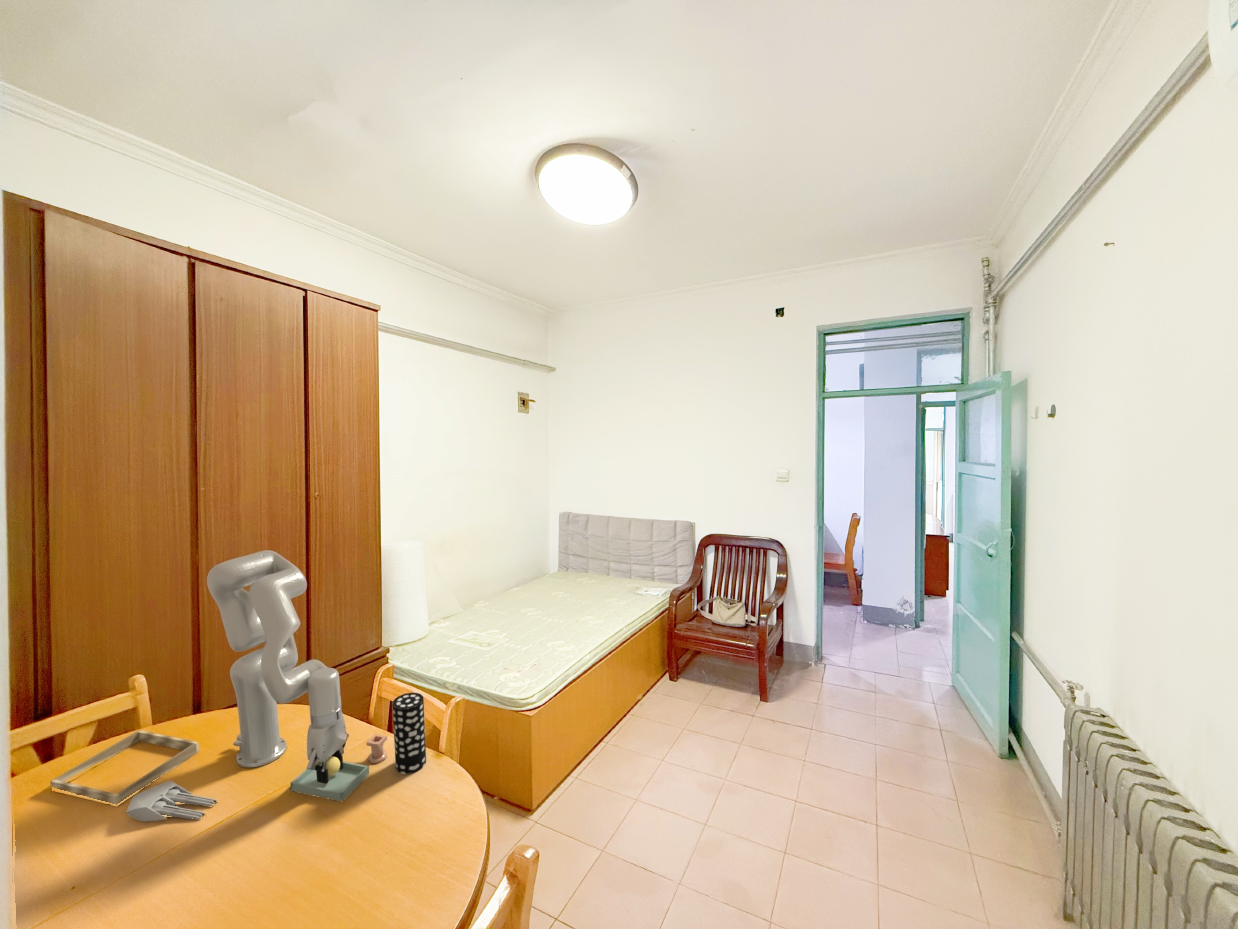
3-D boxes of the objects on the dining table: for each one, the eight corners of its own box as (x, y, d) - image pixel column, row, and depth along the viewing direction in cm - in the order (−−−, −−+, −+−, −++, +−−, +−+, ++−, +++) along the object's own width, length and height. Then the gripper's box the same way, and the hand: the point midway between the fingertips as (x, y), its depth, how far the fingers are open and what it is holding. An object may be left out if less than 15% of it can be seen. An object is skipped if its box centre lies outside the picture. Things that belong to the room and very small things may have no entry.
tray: (291, 791, 152) (290, 783, 152) (321, 764, 163) (320, 756, 162) (342, 802, 149) (341, 794, 148) (369, 773, 159) (368, 766, 159)
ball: (316, 779, 154) (314, 762, 153) (329, 767, 158) (328, 751, 158) (331, 782, 152) (330, 766, 152) (344, 770, 157) (343, 754, 156)
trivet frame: (51, 791, 151) (50, 781, 150) (140, 739, 173) (138, 730, 172) (116, 807, 146) (115, 796, 145) (199, 751, 167) (198, 742, 167)
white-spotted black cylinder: (416, 776, 159) (413, 711, 156) (389, 771, 160) (386, 707, 157) (431, 756, 167) (429, 694, 164) (406, 752, 168) (403, 691, 165)
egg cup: (364, 761, 164) (363, 743, 163) (375, 750, 169) (374, 732, 168) (379, 764, 163) (378, 746, 162) (390, 753, 168) (389, 735, 167)
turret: (193, 835, 140) (194, 818, 140) (115, 820, 141) (115, 804, 140) (223, 804, 150) (224, 789, 150) (149, 791, 150) (150, 775, 150)
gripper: (336, 695, 162) (340, 753, 164) (289, 731, 145) (294, 794, 148) (359, 699, 160) (362, 757, 163) (314, 736, 144) (319, 800, 146)
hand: (330, 774), depth 155 cm, fingers closed on ball, 4 cm apart
